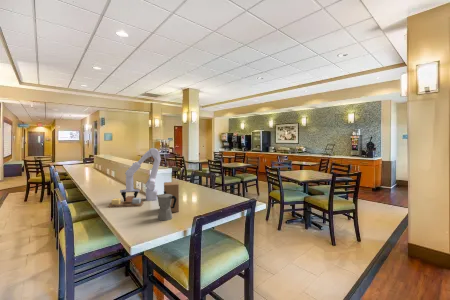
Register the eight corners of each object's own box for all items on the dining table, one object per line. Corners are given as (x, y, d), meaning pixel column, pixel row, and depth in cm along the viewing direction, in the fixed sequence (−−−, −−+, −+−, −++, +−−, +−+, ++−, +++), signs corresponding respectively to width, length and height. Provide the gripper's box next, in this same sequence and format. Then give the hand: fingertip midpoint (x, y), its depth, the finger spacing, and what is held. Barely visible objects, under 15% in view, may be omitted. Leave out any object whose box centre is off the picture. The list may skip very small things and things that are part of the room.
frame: (143, 204, 177) (143, 200, 177) (141, 207, 169) (140, 203, 169) (112, 205, 174) (112, 202, 174) (108, 208, 166) (108, 205, 166)
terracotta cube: (134, 202, 184) (133, 195, 184) (132, 203, 179) (132, 197, 179) (127, 202, 183) (127, 196, 183) (125, 203, 178) (125, 197, 178)
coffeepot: (152, 219, 144) (151, 191, 143) (161, 214, 153) (160, 188, 152) (172, 222, 139) (172, 194, 138) (180, 217, 147) (180, 190, 146)
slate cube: (140, 203, 176) (140, 197, 175) (139, 205, 171) (139, 199, 170) (134, 204, 175) (134, 197, 175) (132, 206, 170) (132, 199, 170)
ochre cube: (120, 204, 173) (120, 198, 173) (118, 206, 168) (118, 199, 168) (114, 204, 173) (113, 198, 172) (111, 206, 168) (111, 200, 168)
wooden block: (164, 213, 156) (164, 185, 155) (164, 209, 165) (164, 182, 164) (178, 212, 158) (178, 184, 157) (178, 208, 168) (177, 181, 167)
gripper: (140, 183, 185) (140, 199, 186) (121, 183, 183) (122, 200, 184) (138, 185, 178) (138, 201, 179) (118, 185, 176) (119, 202, 177)
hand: (130, 201), depth 181 cm, fingers open, 7 cm apart
